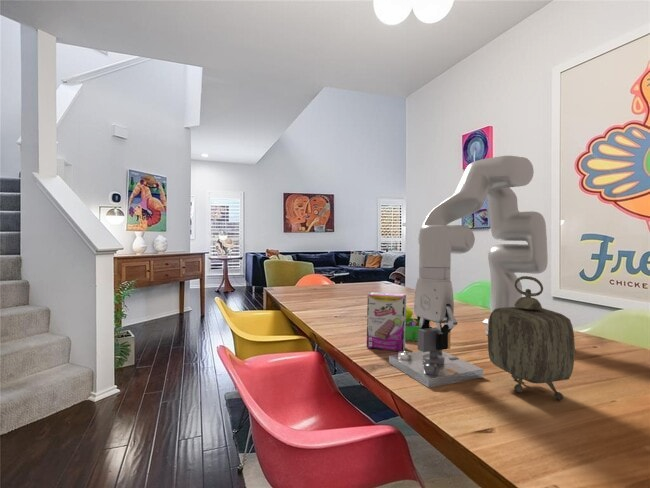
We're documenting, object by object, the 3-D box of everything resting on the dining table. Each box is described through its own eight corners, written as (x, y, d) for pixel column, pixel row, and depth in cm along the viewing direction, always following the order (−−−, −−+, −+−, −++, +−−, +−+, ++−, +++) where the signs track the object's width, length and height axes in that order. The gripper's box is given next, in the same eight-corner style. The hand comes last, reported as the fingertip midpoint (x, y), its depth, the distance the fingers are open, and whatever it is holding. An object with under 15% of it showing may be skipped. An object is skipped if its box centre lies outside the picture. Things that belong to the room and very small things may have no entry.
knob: (414, 359, 85) (414, 327, 85) (439, 355, 88) (440, 325, 88) (427, 366, 80) (427, 333, 80) (454, 362, 83) (454, 330, 83)
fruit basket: (421, 342, 107) (421, 307, 107) (393, 339, 110) (393, 305, 110) (423, 333, 118) (423, 301, 118) (397, 331, 121) (397, 299, 120)
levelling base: (388, 363, 89) (389, 348, 89) (437, 355, 95) (437, 341, 95) (428, 387, 74) (428, 369, 74) (482, 377, 80) (483, 360, 80)
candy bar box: (366, 348, 101) (366, 294, 100) (369, 343, 105) (370, 291, 105) (404, 352, 97) (404, 296, 97) (405, 347, 102) (406, 293, 102)
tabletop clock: (574, 403, 67) (576, 279, 67) (539, 410, 65) (541, 281, 64) (514, 375, 81) (515, 272, 81) (483, 379, 78) (485, 273, 78)
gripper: (402, 271, 91) (401, 338, 91) (446, 278, 75) (445, 359, 75) (424, 270, 93) (424, 335, 94) (472, 277, 77) (471, 355, 78)
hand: (433, 345), depth 84 cm, fingers open, 5 cm apart
